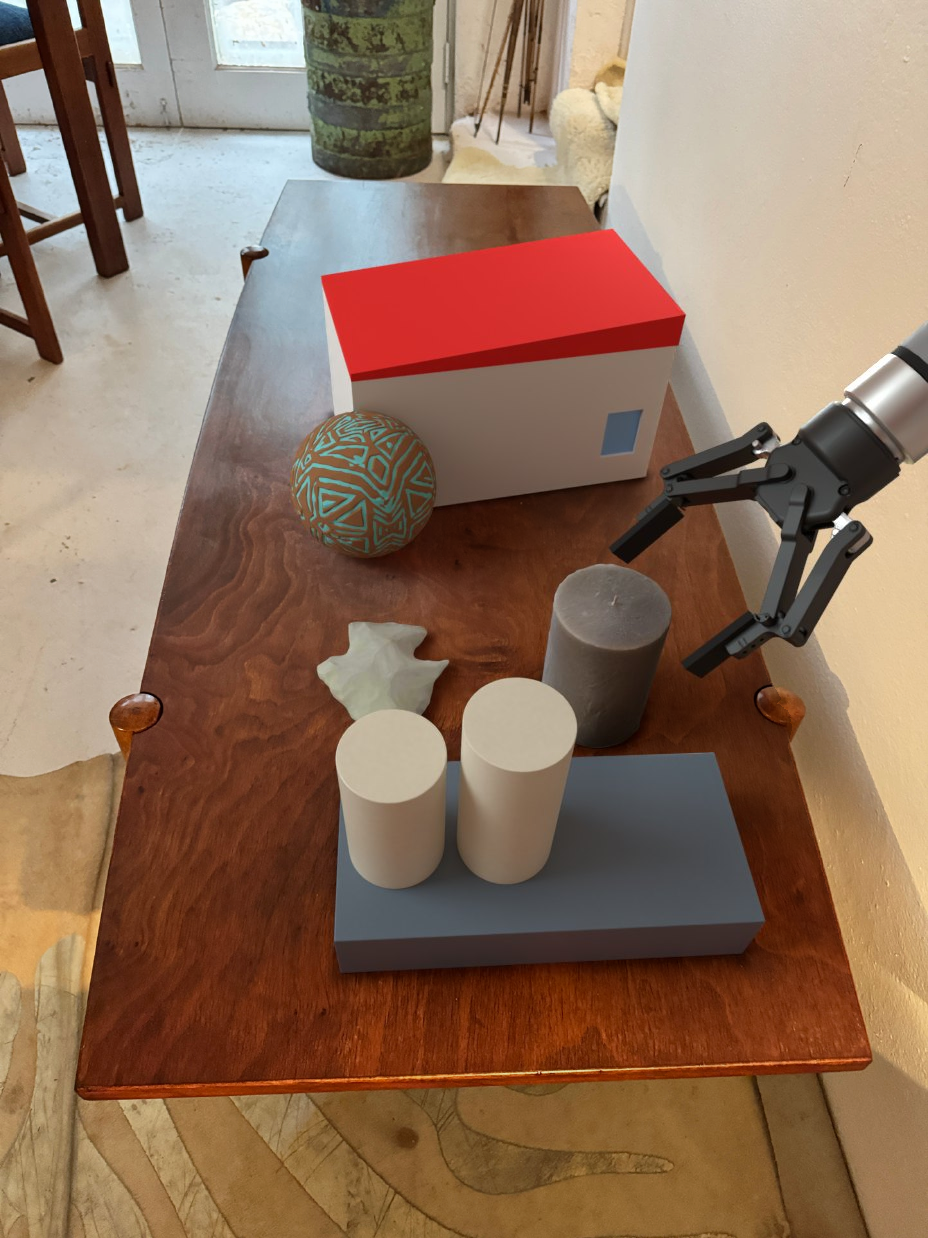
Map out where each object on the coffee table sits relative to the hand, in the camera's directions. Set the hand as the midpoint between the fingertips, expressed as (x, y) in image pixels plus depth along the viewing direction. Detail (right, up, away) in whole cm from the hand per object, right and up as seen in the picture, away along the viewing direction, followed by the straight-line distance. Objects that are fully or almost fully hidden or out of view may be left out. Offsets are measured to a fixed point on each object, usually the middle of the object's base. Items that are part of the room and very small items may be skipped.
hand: (651, 610), depth 71 cm
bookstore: (-13, +21, +34) cm, 42 cm away
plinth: (-10, -21, -4) cm, 24 cm away
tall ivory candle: (-13, -17, -9) cm, 23 cm away
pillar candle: (-4, -9, +8) cm, 12 cm away
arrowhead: (-23, -8, +8) cm, 26 cm away
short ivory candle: (-21, -17, -9) cm, 29 cm away
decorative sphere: (-26, +8, +22) cm, 35 cm away
